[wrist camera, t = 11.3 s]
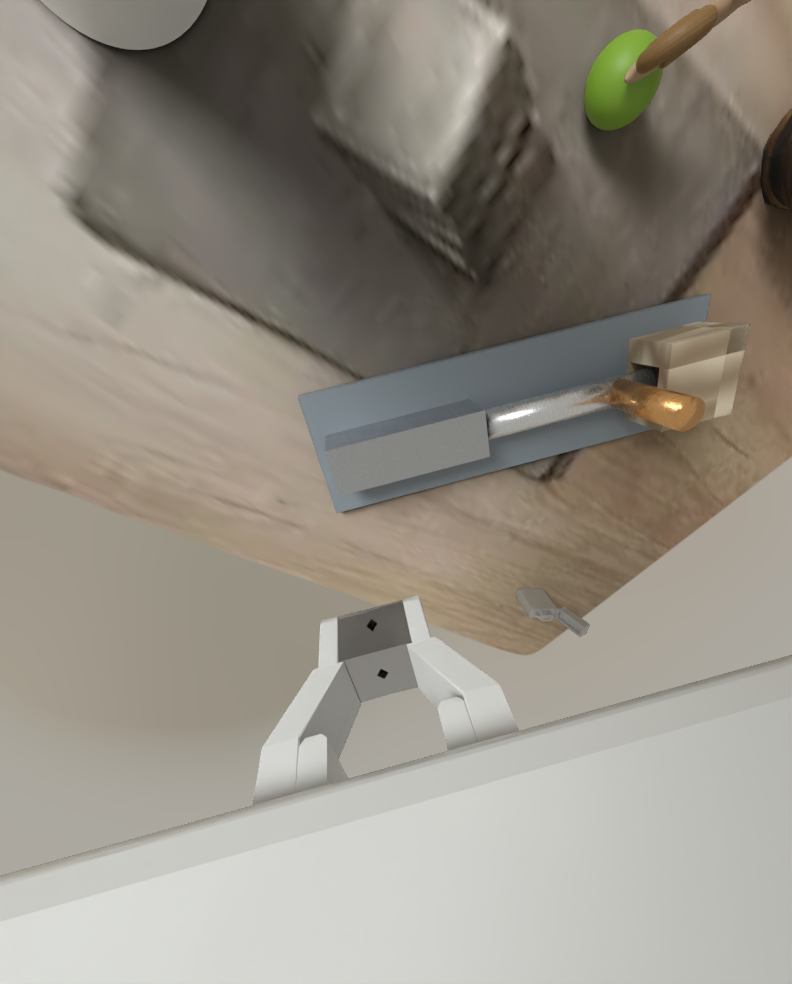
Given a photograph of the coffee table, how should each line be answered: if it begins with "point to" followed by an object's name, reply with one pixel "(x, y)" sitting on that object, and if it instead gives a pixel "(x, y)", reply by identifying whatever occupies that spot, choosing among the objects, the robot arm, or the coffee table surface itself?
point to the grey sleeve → (407, 446)
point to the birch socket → (693, 363)
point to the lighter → (549, 610)
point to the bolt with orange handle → (600, 404)
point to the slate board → (497, 394)
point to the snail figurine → (643, 65)
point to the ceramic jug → (778, 165)
